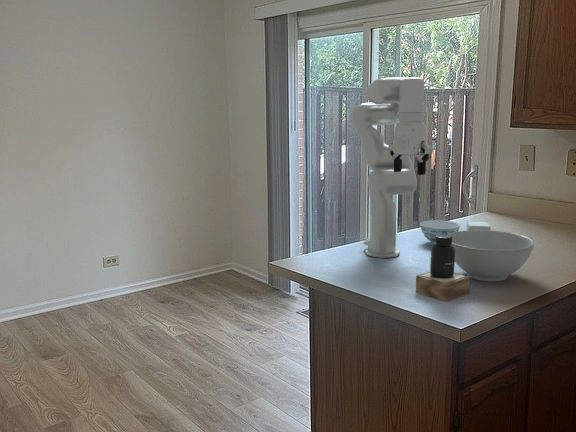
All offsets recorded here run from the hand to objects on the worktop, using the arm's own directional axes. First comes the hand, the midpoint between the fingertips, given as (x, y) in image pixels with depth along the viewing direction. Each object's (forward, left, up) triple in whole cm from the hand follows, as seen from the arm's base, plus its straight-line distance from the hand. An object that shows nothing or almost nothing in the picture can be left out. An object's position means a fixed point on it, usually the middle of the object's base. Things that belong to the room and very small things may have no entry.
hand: (409, 173), depth 182 cm
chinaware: (-18, +40, -34) cm, 55 cm away
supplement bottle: (+19, -6, -28) cm, 34 cm away
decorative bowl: (+18, +18, -34) cm, 42 cm away
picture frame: (+19, -6, -33) cm, 39 cm away
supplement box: (+4, +33, -34) cm, 47 cm away
